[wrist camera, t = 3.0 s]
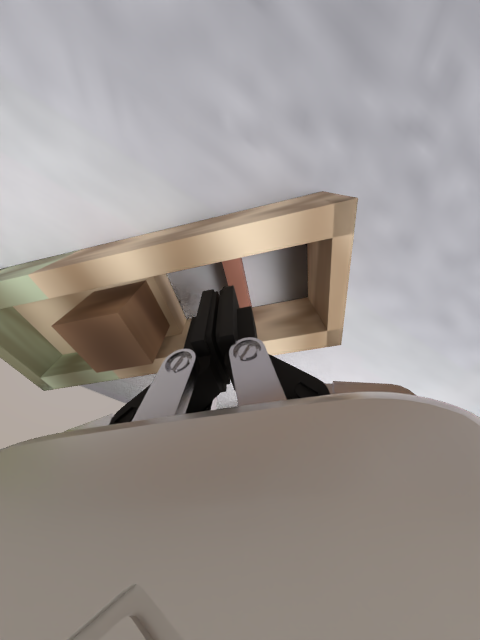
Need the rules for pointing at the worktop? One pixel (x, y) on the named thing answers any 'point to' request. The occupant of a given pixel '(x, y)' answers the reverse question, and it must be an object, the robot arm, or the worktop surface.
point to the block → (116, 327)
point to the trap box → (152, 265)
